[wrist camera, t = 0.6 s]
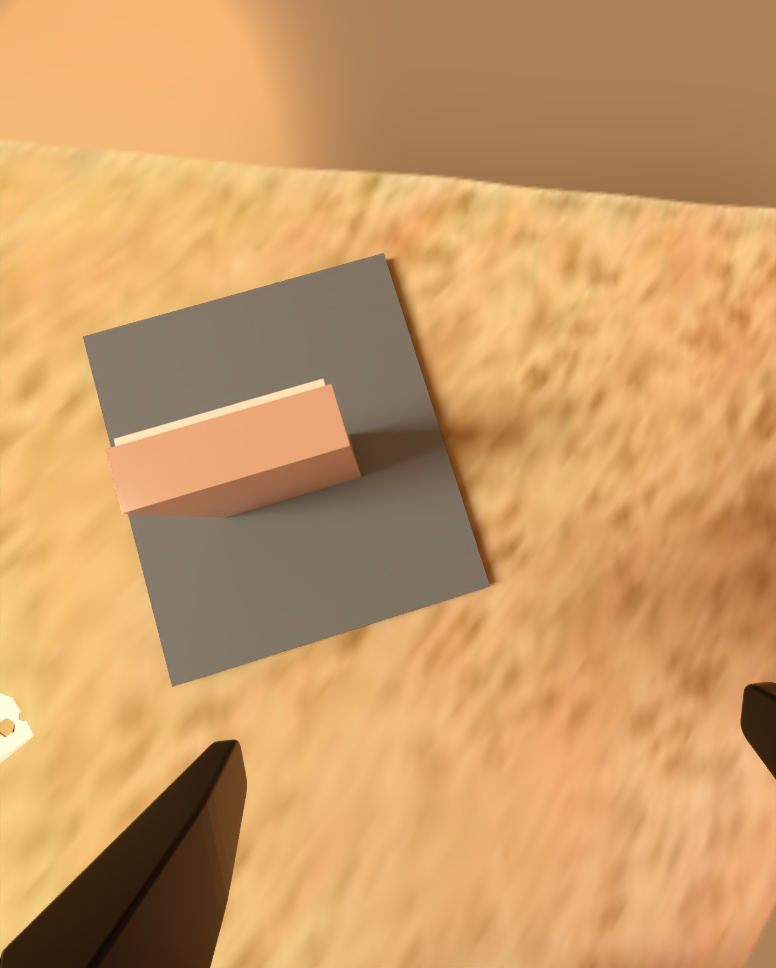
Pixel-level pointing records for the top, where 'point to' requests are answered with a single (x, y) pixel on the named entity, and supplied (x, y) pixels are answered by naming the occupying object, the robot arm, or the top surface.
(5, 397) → the top surface
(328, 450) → the tile
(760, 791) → the top surface
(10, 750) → the knife
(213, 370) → the mat
